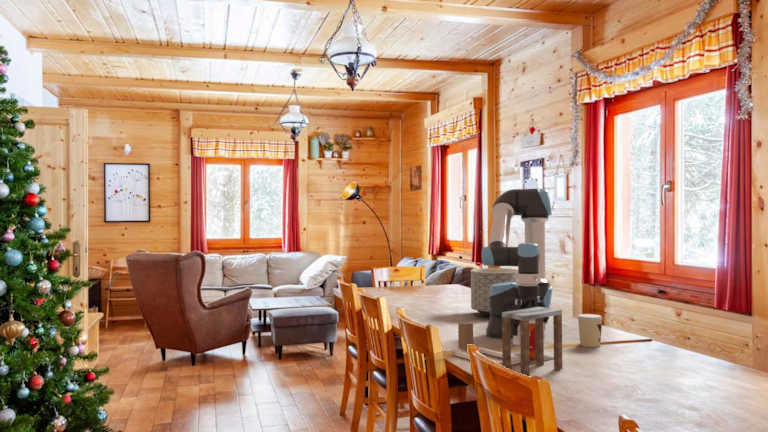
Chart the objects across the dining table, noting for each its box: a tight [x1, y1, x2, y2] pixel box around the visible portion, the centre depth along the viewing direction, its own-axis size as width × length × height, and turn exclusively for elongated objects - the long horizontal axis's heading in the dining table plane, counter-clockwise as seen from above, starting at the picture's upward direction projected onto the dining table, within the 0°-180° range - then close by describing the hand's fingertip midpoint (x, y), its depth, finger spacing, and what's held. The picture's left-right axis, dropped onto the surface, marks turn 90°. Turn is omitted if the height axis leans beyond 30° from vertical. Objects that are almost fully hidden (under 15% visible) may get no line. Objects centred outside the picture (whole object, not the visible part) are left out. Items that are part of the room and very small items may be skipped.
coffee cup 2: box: [577, 313, 603, 348], centre depth 242 cm, size 9×9×12 cm
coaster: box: [513, 352, 554, 366], centre depth 222 cm, size 13×13×1 cm
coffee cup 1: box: [529, 319, 536, 360], centre depth 221 cm, size 8×8×15 cm
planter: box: [470, 267, 520, 318], centre depth 314 cm, size 25×25×24 cm
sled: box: [452, 321, 521, 366], centre depth 222 cm, size 25×12×12 cm, turn 36°
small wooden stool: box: [501, 307, 563, 376], centre depth 204 cm, size 10×19×20 cm, turn 126°
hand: (529, 341), depth 222 cm, fingers open, 13 cm apart
